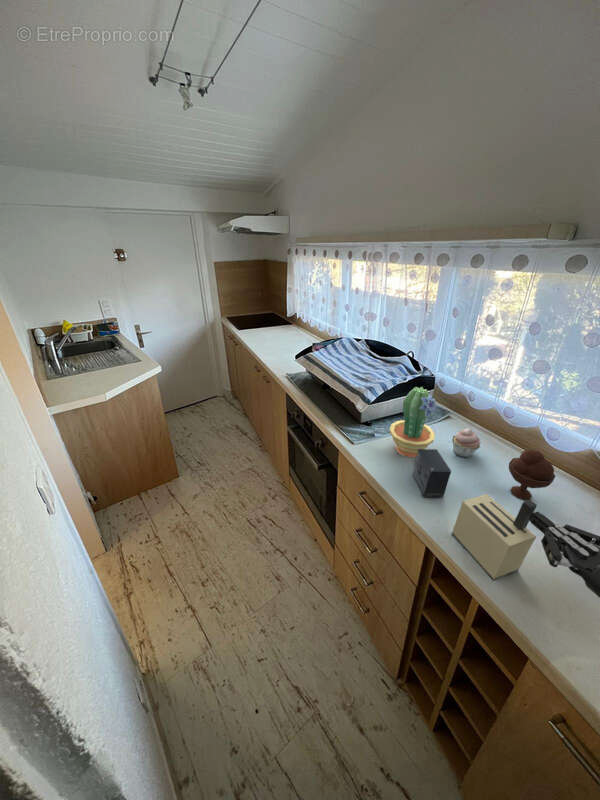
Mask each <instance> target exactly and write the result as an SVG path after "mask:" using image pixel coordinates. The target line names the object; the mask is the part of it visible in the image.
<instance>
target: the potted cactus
mask: <svg viewBox="0 0 600 800" xmlns="http://www.w3.org/2000/svg"><path fill="white" fill-rule="evenodd" d="M436 402H437V401H436V400H435V398H433V396H432V395H431V394H430V392H429V391H428V389H427V388H425V389H424V387H423V386H420V387H418V386H415V387H413V389H411V390H410V391H409V392H408V393H407V395H406V396H405V397H404V398H403V399H402V413H403V415H404V416H403V418H404V419H403V420H397V421H395V422H393V423H392V424H391V425H390V427H389V434H390V435H391V437H392V440H393V442H394V444H395V445H396V446H395V449H396V451H397V452H398V453H399V454H400V455H402V456H403V457H408V458H417V453H418V449H428V447H429V445H431V444H433V442H434V441H435V437H436V433H435V431H434V430H433V429H432V428H431V427H430V426H429V425H427V424H425V423H426V419H427V418H428V416H429V415H430V414H435V412H436V409H437V403H436Z"/></svg>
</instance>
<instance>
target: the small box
mask: <svg viewBox="0 0 600 800" xmlns="http://www.w3.org/2000/svg"><path fill="white" fill-rule="evenodd" d="M415 458H416V459H415V462H414V467H413V471H412V474H411V475H412V477H413V479H414V481H415V484H416V486H417V487H418V489H419V491H420V493H421V496H422V498H424V499H431V498H433V499H434V498H435V499H441V498H444V496H445V493H446V490H447V486H448V483H449V480H450V476H451V473H452V470H451V468H450V467H449V465H448V464H447V462H446V461H445V459H444V458H443V457H442V455H441V453H440V452H439V451H438V449H437V448H426V449H418V453H417V457H415Z"/></svg>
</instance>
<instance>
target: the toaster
mask: <svg viewBox="0 0 600 800" xmlns="http://www.w3.org/2000/svg"><path fill="white" fill-rule="evenodd" d="M515 519H516V517H514V516H513V515H512V514H511V513H510V512H508V511H507V510H506V509H505V508H504V507H503V506H501V505H500V504H499V503H498V502H497V501H496V500H495V499H493V498H492V497H491V496H490V495H489V494H488V493H485V494H482V495H478V496H475V497H472V498H468V499H465V500H462V502H461V505H460V508H459V511H458V514H457V518H456V520H455V523H454V526H453V529H452V532H451V535H452V536H453V537H454V539H455V540H456V541H457V542H458V543H459V544H460V545H461V546H462V547H463V548H464V550H465V551H466V552H467V553H468V554H469V555H470V557H472V559H473V560H474V561H475V562H476V563H477V565H479V566H480V567H481V569H482V570H483V571H484V572H485V574H487V576H489V578H490V579H491V580H492V581H495V580H498V579H501V578H503V577H505V576H506V577H507V576H509V575H511V574H513V573H515V572H518V571H519V570H520V567H521V566H522V564H523V562H524V560H525V558H526V557H527V555H528V553H529V551H530V550H531V547H532V546H533V544H534V541H535V540H536V538H537V535H535V534H534V532H532V531H531V530H530V529H528V528H527V527H526V528H524V529H521V530H519V529H518V528H516V527H515V526H514V525H513V523H514V521H515Z"/></svg>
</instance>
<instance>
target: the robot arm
mask: <svg viewBox="0 0 600 800" xmlns="http://www.w3.org/2000/svg"><path fill="white" fill-rule="evenodd" d="M529 520H530V521H529V523H531V525H533V526H534V527H535V528H536V529H537V530H539V531H540V532H541V533H542V534H543V537H542V538H541V540H540V542H541V543H540V544H541V546H542V548H543V550H544V551H543V552H544V553H545V557H546V559H547V561H548V564H549V565H550V566H551V567H553V568H557V567H558V566H561V567H566V568H568V569H569V570H570V571H571V572H572V573H574V574H575V575H578V576H579V577H580V578H581V579H582V580H583V581H584V584H585V586H586V587H587V588H588V589H589V591H591V592H592V593H593V594H595V596H597V597H598V599H600V535H598V534H595V533H592V532H589V531H586V530H583V529H581V528H579V527H576V526H573V525H571V524H564V525H560V524H556V523H555V522H553V521H552V520H551V519H550V518H548V517H547V516H546V515H545V514H542V513H541V512H539V511H534V513H532V514H531V515H530V517H529Z"/></svg>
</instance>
